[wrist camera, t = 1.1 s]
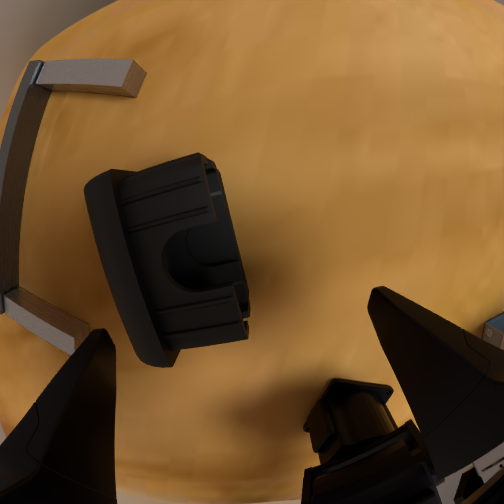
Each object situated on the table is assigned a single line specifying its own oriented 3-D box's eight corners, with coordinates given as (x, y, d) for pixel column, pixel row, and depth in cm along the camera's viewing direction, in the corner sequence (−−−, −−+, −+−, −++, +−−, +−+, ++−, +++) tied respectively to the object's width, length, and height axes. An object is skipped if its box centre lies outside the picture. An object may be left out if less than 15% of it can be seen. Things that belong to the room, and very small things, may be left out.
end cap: (120, 188, 17) (60, 190, 11) (217, 158, 17) (193, 139, 10) (159, 320, 19) (122, 372, 13) (252, 304, 19) (249, 359, 12)
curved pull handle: (146, 72, 15) (130, 56, 13) (88, 343, 20) (71, 360, 17) (49, 70, 15) (29, 61, 12) (10, 297, 20) (-8, 308, 17)
